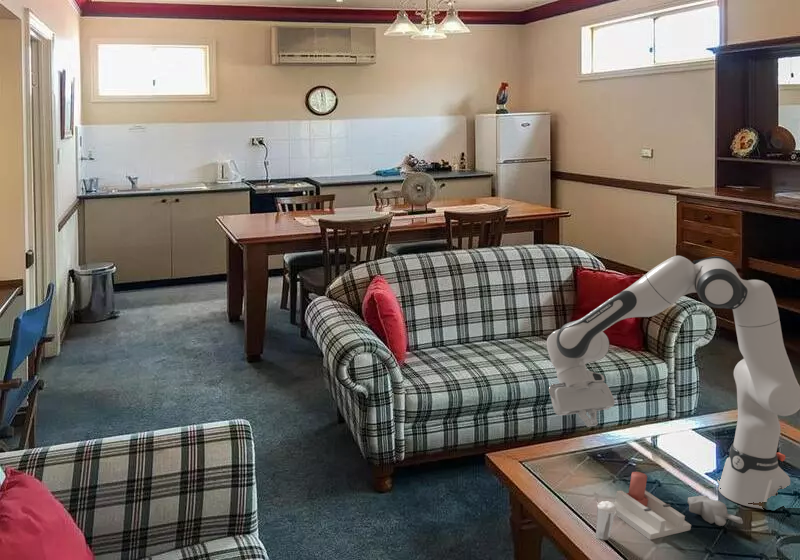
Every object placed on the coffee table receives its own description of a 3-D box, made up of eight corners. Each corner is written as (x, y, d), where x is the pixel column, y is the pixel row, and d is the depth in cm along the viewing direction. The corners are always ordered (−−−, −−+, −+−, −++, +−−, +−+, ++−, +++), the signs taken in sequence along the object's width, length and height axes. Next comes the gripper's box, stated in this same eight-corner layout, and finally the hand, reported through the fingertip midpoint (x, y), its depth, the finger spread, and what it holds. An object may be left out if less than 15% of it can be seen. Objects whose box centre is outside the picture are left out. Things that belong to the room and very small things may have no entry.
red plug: (635, 498, 203) (639, 470, 201) (646, 506, 199) (651, 477, 197) (622, 500, 201) (627, 472, 199) (634, 508, 197) (639, 480, 195)
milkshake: (592, 528, 189) (598, 492, 187) (613, 535, 187) (619, 499, 184) (587, 536, 185) (593, 499, 183) (609, 543, 183) (614, 506, 181)
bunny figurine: (708, 490, 207) (748, 512, 192) (707, 507, 207) (746, 531, 193) (679, 492, 204) (718, 515, 190) (678, 510, 204) (716, 534, 190)
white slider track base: (645, 499, 206) (647, 484, 205) (690, 530, 192) (693, 513, 191) (606, 508, 200) (608, 491, 199) (649, 539, 186) (652, 522, 185)
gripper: (552, 380, 214) (569, 425, 207) (607, 374, 223) (625, 417, 216) (541, 389, 218) (557, 433, 212) (595, 383, 228) (612, 426, 221)
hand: (592, 425), depth 214 cm, fingers closed
